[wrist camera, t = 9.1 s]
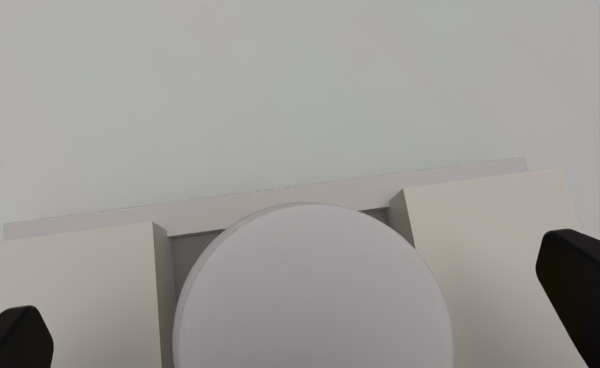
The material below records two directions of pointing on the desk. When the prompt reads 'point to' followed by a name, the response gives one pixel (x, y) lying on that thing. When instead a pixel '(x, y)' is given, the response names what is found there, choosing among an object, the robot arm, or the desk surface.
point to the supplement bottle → (311, 296)
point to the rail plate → (347, 193)
